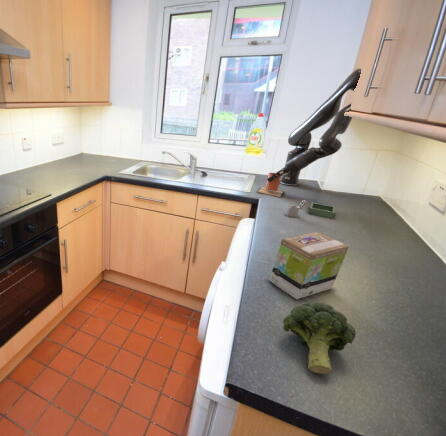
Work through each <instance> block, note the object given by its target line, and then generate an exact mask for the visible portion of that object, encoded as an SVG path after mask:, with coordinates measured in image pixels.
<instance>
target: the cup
mask: <svg viewBox="0 0 446 436" xmlns="http://www.w3.org/2000/svg"><path fill="white" fill-rule="evenodd" d="M275 173H276V172H269V173H268V175H267V179H268V178H270V177H271V176H273V174H275ZM277 176H278V175H277V174H276V177H277ZM267 179H266V183H265V187H264V188H265V189H267V190H270V191H278V190H279V188H280V187H279V186H280V184H281V183H280V182H281V179H282V177H278V178H277V179H274V180H273V181H271V182H268V180H267Z"/></svg>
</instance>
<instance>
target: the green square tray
mask: <svg viewBox="0 0 446 436" xmlns="http://www.w3.org/2000/svg"><path fill="white" fill-rule="evenodd" d="M335 212H336V208H335V206H333V205H329V204H328V205H327V204H322V203H316V202H311V203H310V206H309V209H308V214H309V215H313V216H317V217H318V216H319V217H323V218H329V219H334V216H335Z"/></svg>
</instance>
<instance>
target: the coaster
mask: <svg viewBox="0 0 446 436" xmlns="http://www.w3.org/2000/svg"><path fill="white" fill-rule="evenodd" d="M283 193H284V190H280V189H278V191H270V190H267V189H265V187H264V186H263V187H260V188H259V190H258V191H257V194H262V195H267V196H273V197H278V198H281V197H282V196H283Z"/></svg>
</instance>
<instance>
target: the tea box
mask: <svg viewBox="0 0 446 436" xmlns="http://www.w3.org/2000/svg"><path fill="white" fill-rule="evenodd" d="M349 246H350V245H347V244H345V243H343V242H341V241H338V240H336V239H333V238H332V237H329V236H327V235H325V234H323V233H320V232H318V231H314V232H309V233H304V234H298V235H295V236H288V237H284V238H282V239H281V242H280V245H279V248H278V251H277V254H276V257H275V260H274V264H273V267H272V271H271V273H270V275H269V282H270V283H272V284H273V285H274V286H276V287H278V288H279V289H280V290H282V291H283V292H285V293H286V294H288V295H290V297H292V298H294V299H295V300H299V299H301V298H305V297H308V296H313V295H315V294H319V293H321V292H325V291H328V290H331V289H332V288H333V287H334V284H335V282H336V280H337V277H338V274H339V272H340V270H341V267H342V265H343V263H344V259H345V258H346V255H347V252H348V250H349Z"/></svg>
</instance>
